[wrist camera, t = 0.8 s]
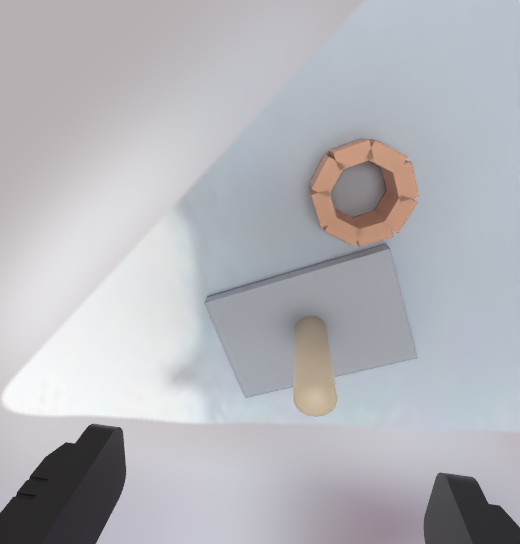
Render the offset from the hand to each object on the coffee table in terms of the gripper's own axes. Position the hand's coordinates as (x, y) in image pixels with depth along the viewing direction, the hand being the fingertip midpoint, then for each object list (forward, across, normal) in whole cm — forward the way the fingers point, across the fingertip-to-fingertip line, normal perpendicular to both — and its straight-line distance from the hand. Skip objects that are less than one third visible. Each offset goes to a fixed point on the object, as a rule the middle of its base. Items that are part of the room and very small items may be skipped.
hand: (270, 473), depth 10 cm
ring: (+20, -4, -5) cm, 21 cm away
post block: (+20, -2, +6) cm, 21 cm away
